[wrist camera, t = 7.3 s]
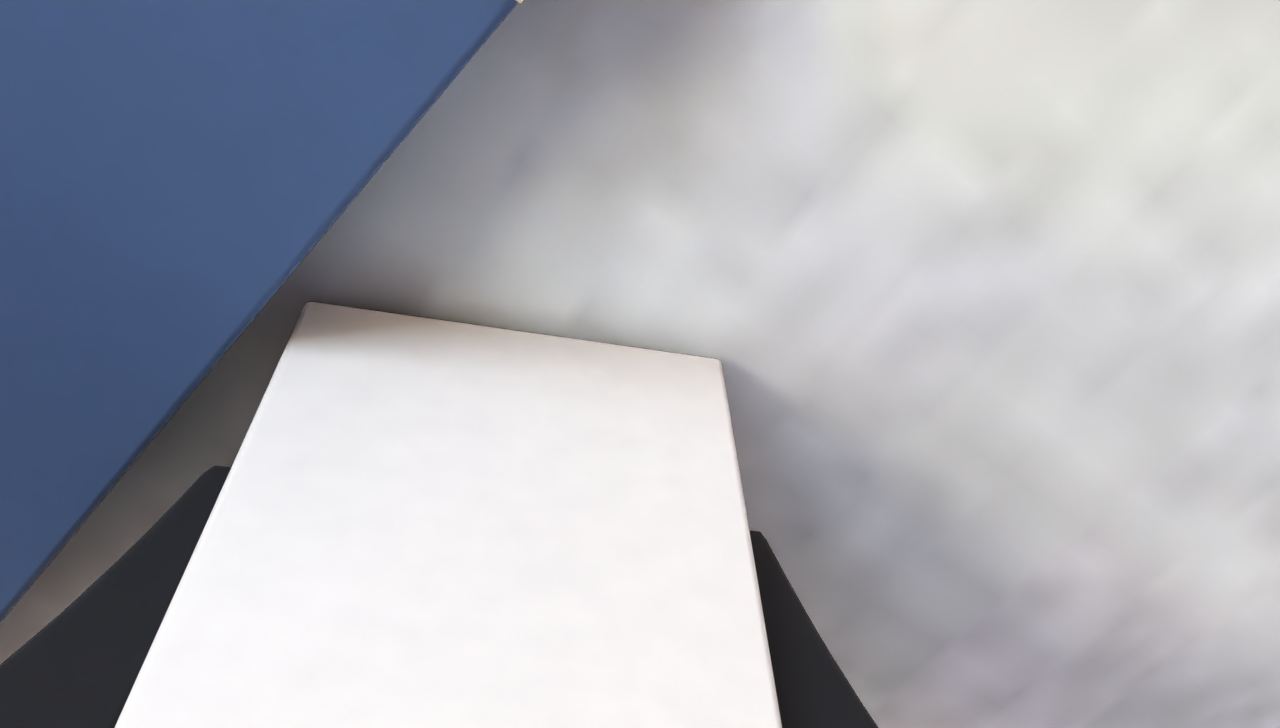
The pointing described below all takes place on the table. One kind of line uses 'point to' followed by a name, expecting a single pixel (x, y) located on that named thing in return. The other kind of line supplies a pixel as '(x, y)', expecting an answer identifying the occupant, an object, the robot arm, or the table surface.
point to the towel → (173, 207)
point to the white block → (470, 543)
